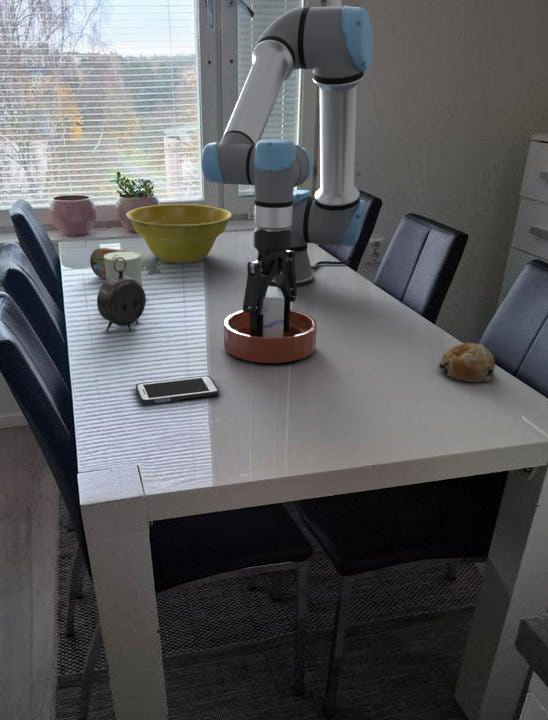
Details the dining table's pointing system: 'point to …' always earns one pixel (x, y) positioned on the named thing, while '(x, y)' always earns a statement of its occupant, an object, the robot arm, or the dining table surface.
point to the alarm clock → (121, 300)
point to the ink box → (273, 313)
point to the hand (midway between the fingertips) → (270, 336)
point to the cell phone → (176, 389)
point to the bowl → (270, 339)
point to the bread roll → (468, 363)
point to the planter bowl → (179, 230)
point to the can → (123, 264)
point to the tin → (101, 260)
